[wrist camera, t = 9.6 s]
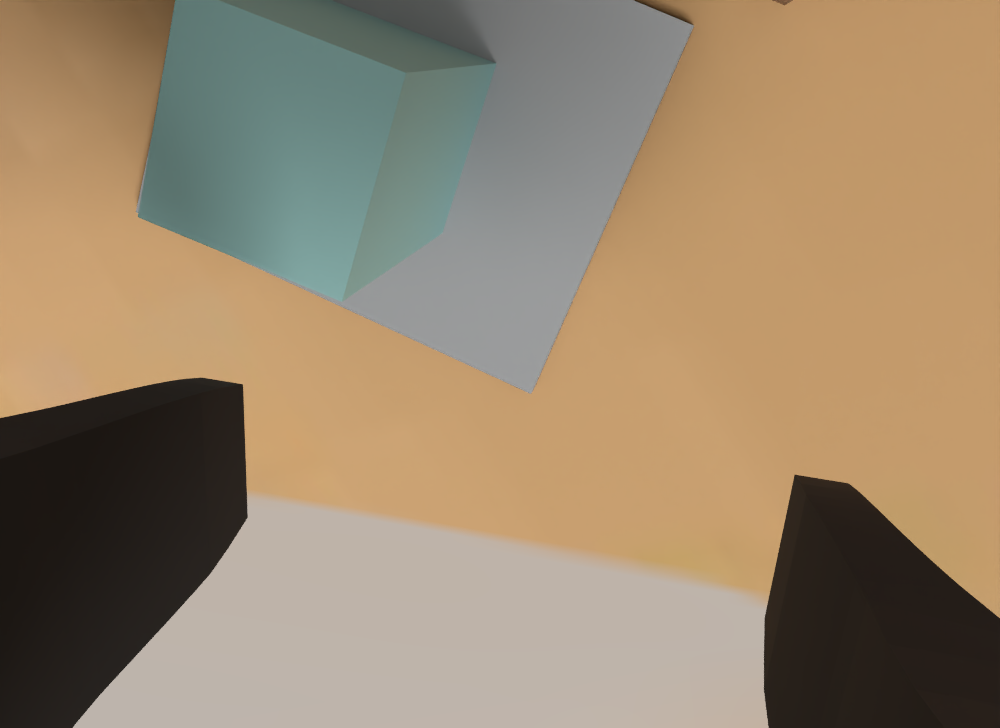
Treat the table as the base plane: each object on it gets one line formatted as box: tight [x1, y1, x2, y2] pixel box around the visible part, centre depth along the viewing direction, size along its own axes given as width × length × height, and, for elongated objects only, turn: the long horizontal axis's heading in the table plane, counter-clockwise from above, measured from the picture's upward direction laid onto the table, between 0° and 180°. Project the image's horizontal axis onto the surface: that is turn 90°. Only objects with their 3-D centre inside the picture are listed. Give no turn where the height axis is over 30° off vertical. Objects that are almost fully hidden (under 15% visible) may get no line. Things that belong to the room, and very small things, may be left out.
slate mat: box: [136, 0, 694, 394], centre depth 21 cm, size 11×9×1 cm
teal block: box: [138, 0, 497, 302], centre depth 18 cm, size 4×4×6 cm
